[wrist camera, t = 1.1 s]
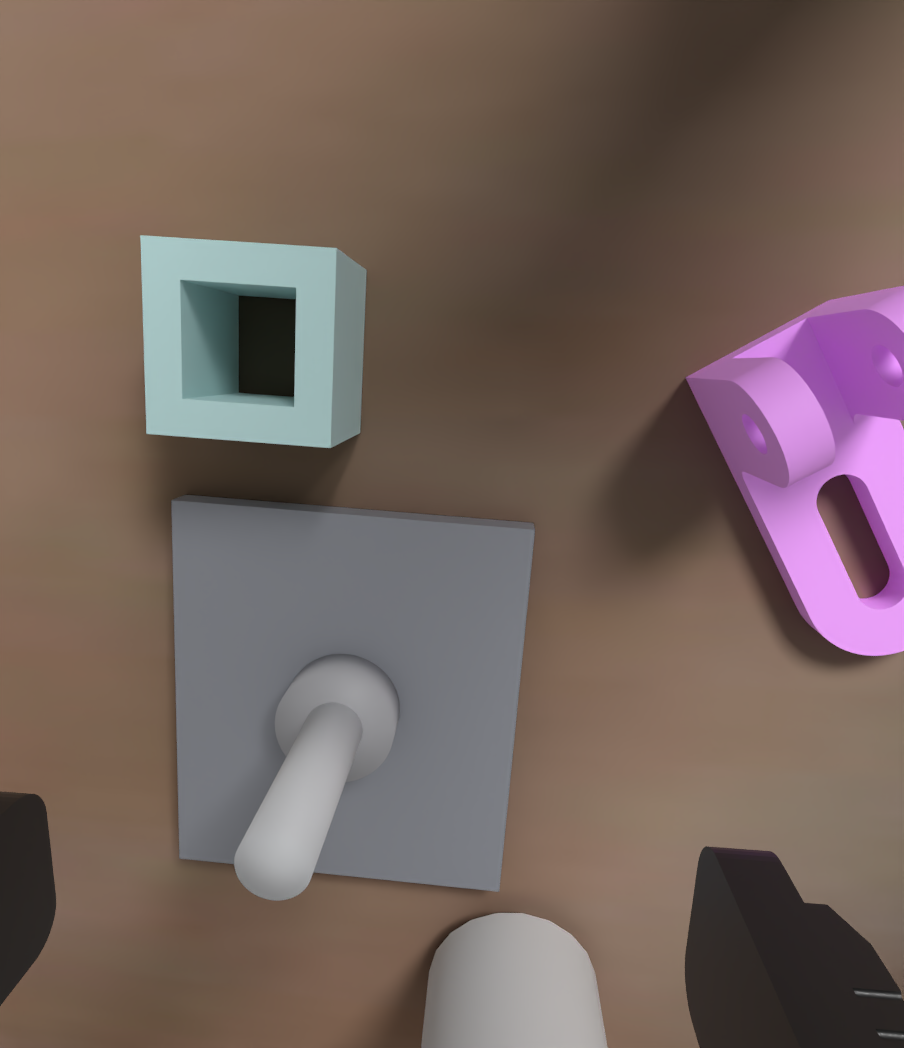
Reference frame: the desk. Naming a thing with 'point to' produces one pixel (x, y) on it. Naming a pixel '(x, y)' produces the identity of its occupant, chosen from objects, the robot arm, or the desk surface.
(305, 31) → the desk surface
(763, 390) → the bracket
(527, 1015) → the can
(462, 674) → the post block
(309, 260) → the collar
